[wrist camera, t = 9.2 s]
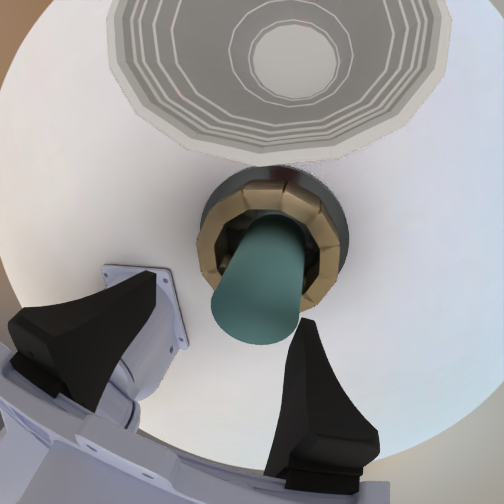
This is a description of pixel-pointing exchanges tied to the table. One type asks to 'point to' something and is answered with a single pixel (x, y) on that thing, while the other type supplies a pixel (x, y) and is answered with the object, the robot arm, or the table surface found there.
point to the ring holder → (283, 203)
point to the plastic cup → (277, 72)
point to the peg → (263, 283)
